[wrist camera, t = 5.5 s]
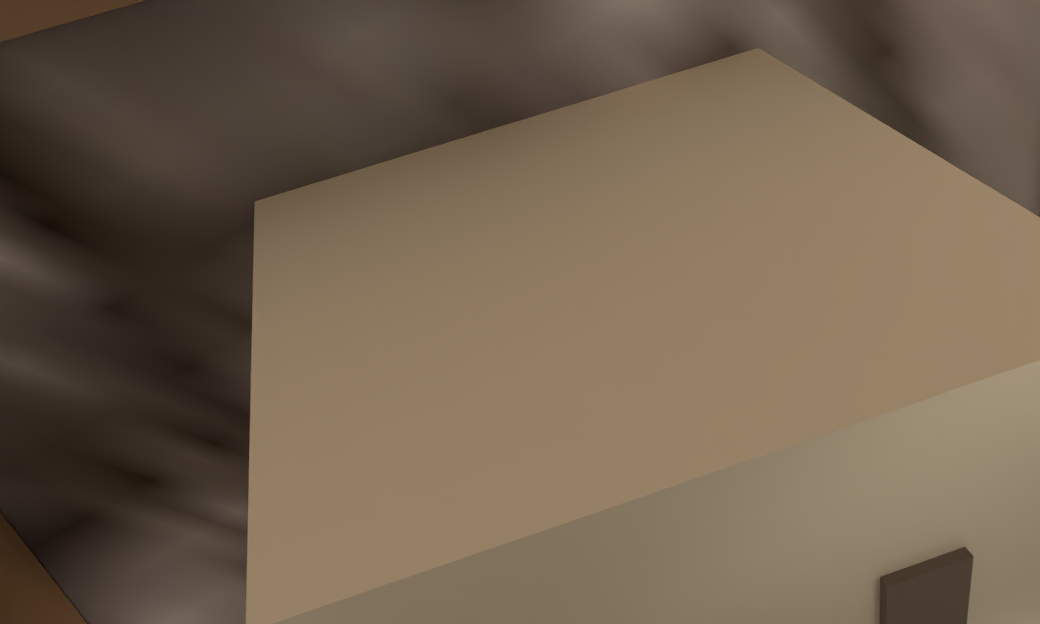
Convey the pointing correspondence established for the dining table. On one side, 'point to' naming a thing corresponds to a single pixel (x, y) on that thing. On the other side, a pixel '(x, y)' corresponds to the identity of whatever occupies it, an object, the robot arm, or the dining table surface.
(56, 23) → the walnut rack
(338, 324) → the letter cube
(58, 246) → the dining table surface
